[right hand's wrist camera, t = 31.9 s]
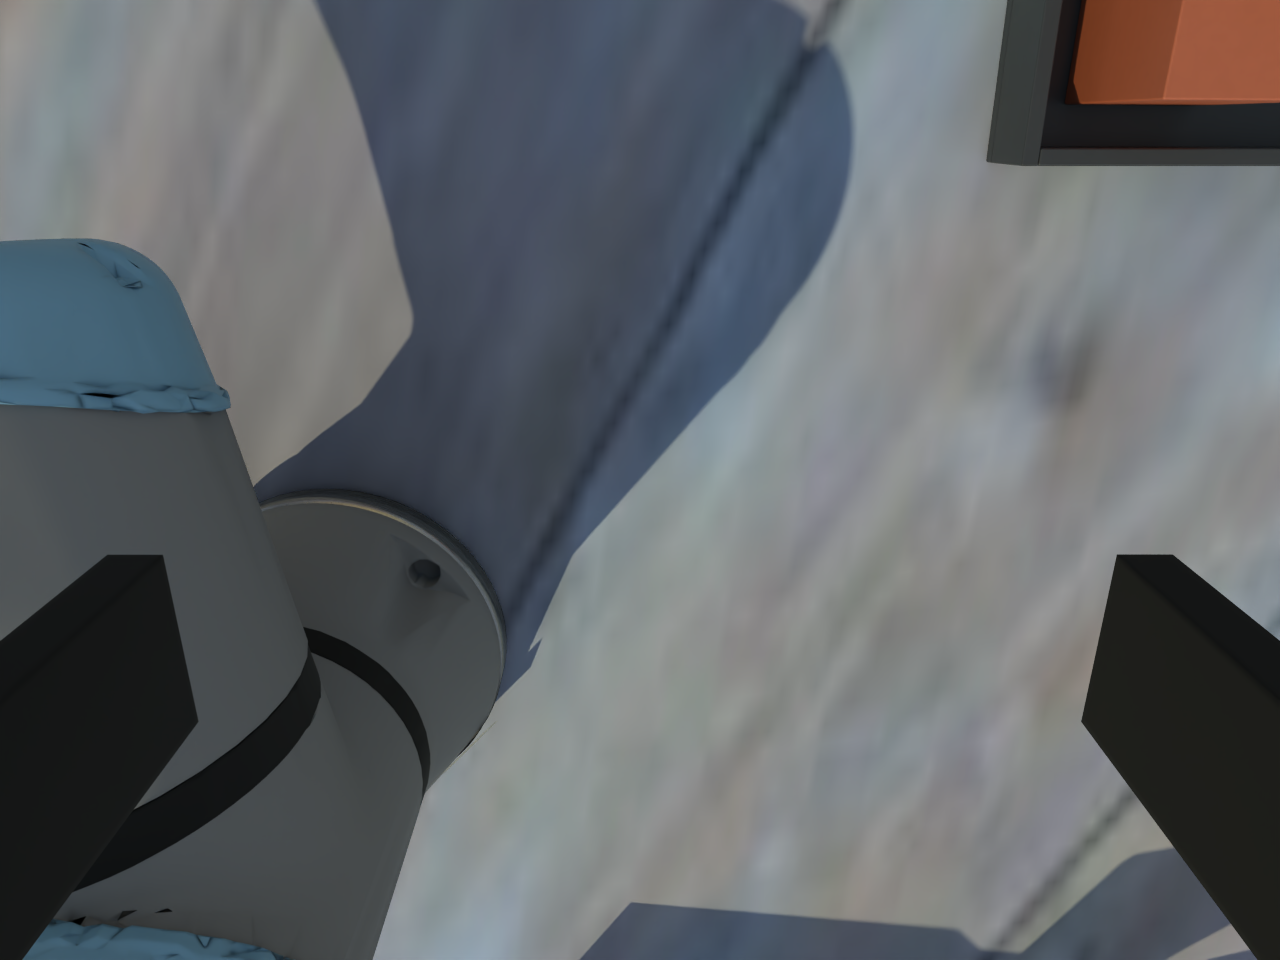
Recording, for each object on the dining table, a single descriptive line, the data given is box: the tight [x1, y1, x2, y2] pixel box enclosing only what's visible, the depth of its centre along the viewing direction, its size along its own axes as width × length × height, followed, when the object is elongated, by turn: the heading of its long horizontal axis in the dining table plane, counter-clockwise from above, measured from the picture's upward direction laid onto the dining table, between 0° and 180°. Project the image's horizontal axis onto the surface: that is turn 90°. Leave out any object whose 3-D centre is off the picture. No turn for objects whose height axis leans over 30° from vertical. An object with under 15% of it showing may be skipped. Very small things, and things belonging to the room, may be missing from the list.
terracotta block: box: [1065, 0, 1280, 106], centre depth 30 cm, size 5×5×7 cm
